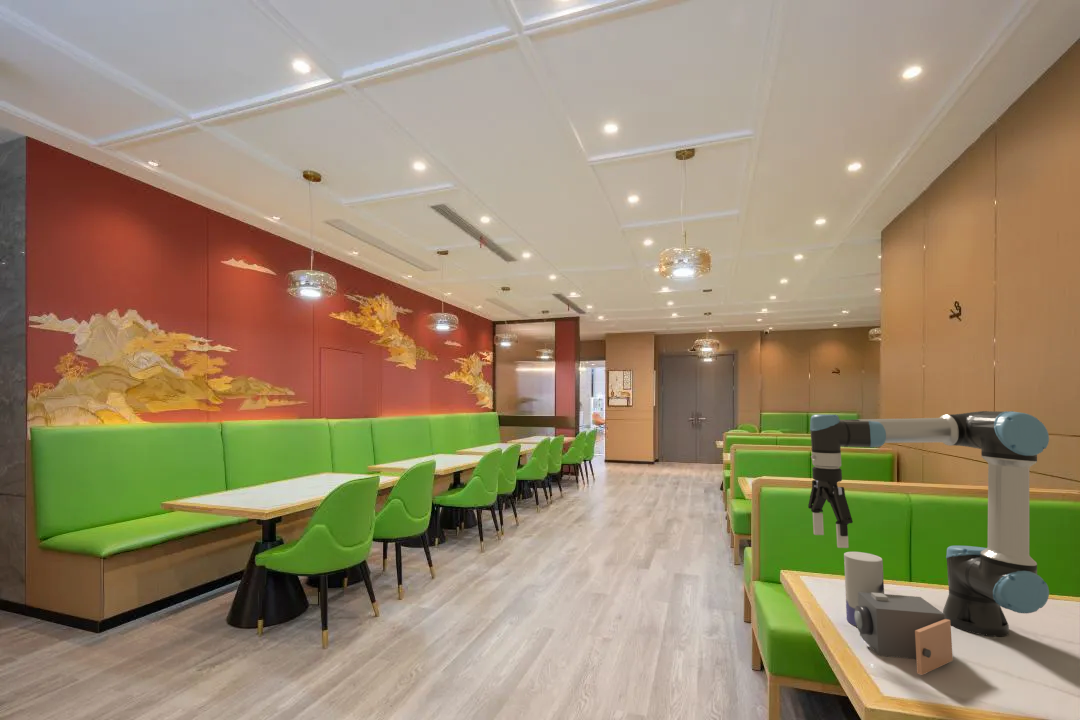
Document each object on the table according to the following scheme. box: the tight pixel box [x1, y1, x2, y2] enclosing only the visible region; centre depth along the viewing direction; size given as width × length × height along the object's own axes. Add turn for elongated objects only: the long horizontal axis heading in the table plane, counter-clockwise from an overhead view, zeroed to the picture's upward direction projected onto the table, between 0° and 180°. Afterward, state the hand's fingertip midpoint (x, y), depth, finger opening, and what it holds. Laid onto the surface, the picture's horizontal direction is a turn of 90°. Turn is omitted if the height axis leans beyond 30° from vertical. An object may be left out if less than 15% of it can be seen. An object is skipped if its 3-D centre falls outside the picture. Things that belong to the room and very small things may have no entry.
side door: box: [915, 619, 954, 676], centre depth 126 cm, size 15×2×10 cm, turn 118°
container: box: [843, 551, 885, 627], centre depth 154 cm, size 10×10×20 cm
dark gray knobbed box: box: [855, 592, 945, 660], centre depth 139 cm, size 18×12×13 cm, turn 78°
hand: (830, 540), depth 147 cm, fingers open, 13 cm apart
